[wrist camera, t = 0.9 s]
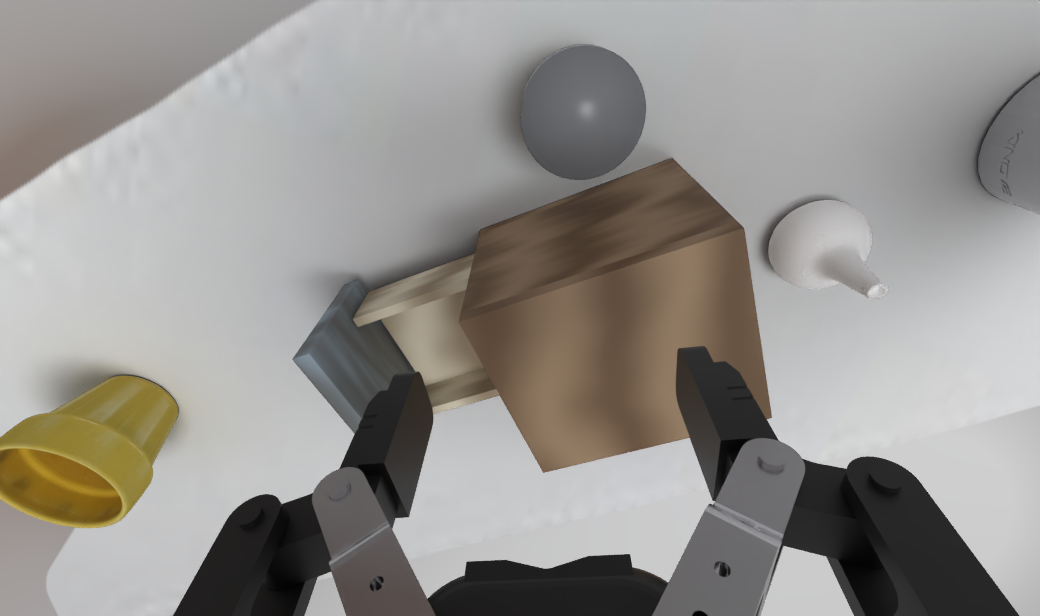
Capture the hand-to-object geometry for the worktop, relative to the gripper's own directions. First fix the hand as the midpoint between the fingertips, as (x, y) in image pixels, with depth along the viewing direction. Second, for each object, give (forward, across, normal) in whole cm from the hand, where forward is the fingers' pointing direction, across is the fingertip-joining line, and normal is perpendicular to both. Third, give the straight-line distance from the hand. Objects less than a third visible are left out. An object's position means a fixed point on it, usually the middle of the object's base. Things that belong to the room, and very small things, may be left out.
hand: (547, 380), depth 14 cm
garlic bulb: (+21, -19, +7) cm, 29 cm away
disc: (+16, -3, -5) cm, 17 cm away
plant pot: (+20, +40, +16) cm, 47 cm away
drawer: (+19, +8, +10) cm, 23 cm away
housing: (+20, -3, +7) cm, 22 cm away
